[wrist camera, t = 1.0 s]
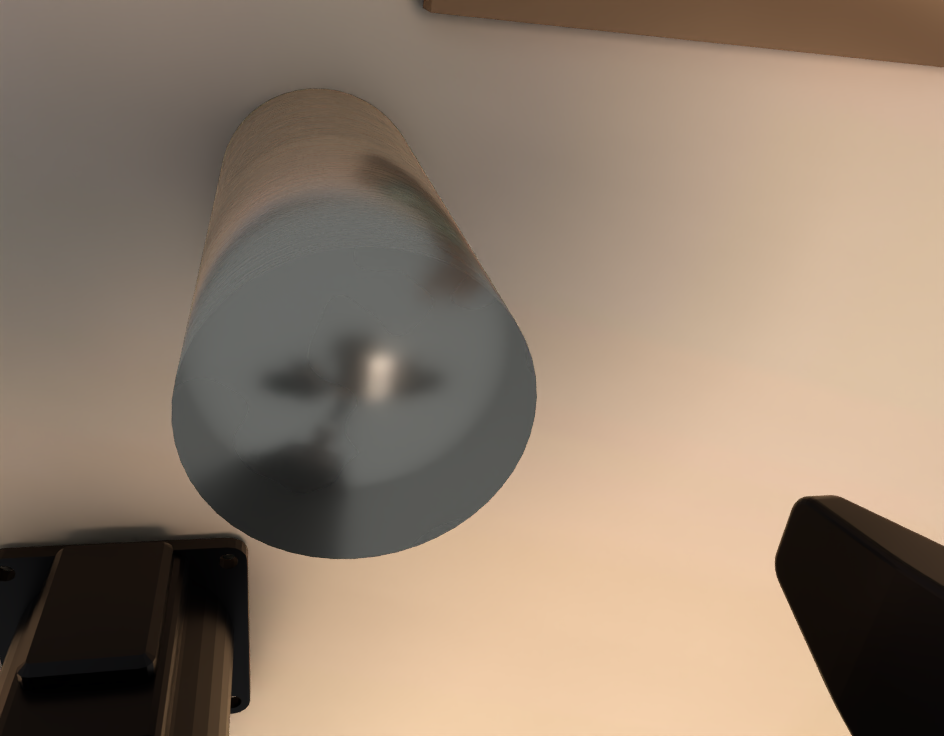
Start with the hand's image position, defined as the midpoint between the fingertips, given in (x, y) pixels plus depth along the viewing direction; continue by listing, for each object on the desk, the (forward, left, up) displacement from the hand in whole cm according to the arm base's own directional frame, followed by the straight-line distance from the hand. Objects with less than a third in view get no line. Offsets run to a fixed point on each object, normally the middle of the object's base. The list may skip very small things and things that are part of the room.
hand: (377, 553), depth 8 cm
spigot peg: (0, 0, -12) cm, 12 cm away
